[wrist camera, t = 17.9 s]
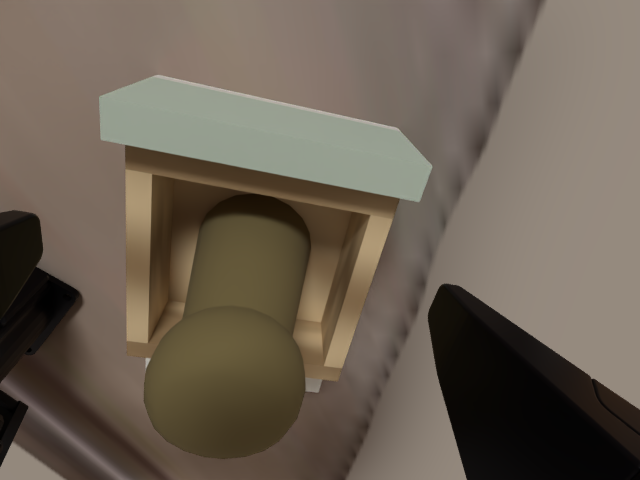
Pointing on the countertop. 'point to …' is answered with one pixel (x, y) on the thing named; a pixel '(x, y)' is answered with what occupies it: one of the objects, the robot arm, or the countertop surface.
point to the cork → (235, 334)
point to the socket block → (182, 232)
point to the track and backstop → (263, 138)
